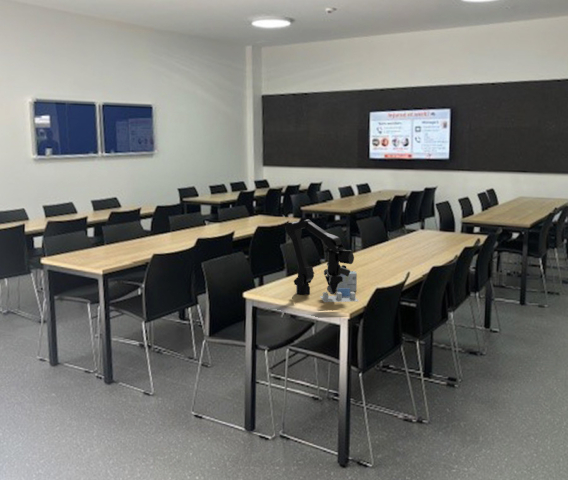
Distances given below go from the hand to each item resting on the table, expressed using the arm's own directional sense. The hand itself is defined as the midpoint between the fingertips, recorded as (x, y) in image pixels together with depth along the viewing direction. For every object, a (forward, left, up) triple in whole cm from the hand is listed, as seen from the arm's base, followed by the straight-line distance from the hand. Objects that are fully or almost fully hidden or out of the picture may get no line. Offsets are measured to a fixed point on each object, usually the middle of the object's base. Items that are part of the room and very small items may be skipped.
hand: (332, 292), depth 304 cm
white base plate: (+3, 0, -4) cm, 6 cm away
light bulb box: (+11, +19, -5) cm, 23 cm away
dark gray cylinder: (0, 0, 0) cm, 0 cm away
